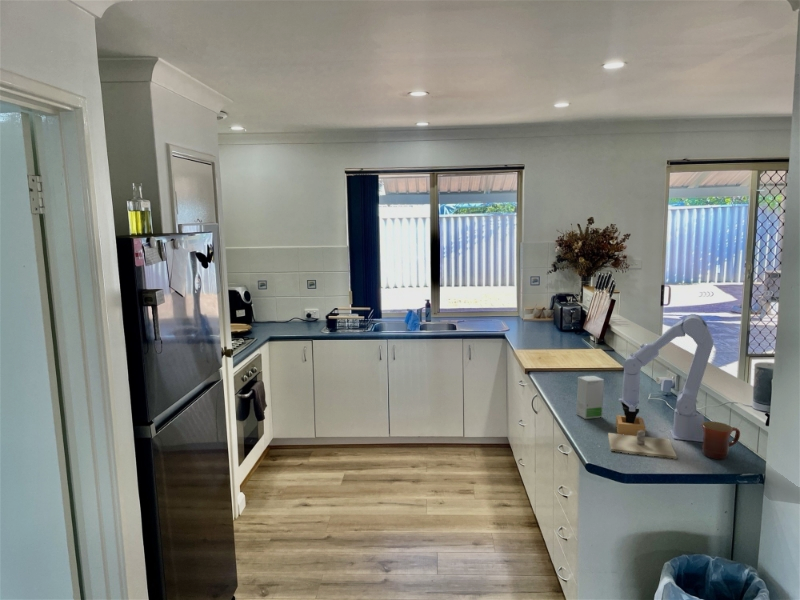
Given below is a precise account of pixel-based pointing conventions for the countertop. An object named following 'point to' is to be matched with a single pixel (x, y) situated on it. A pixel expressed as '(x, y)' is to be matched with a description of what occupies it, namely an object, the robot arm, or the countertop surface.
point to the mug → (718, 439)
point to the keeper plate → (641, 445)
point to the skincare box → (590, 397)
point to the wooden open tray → (629, 425)
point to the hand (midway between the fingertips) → (629, 423)
